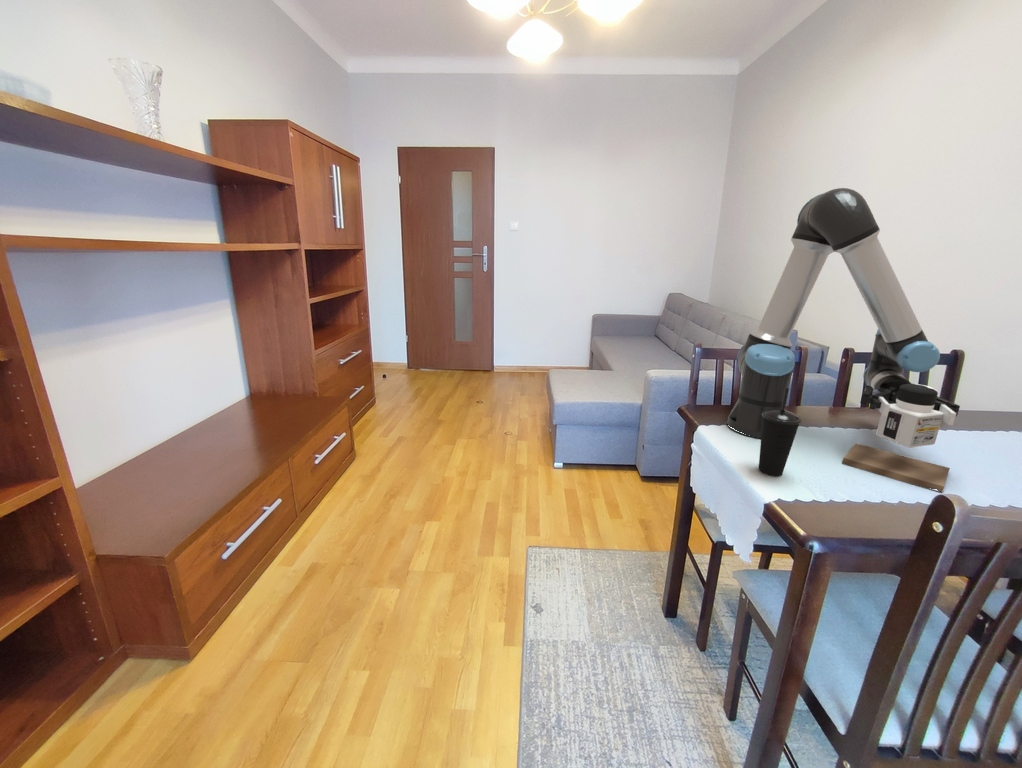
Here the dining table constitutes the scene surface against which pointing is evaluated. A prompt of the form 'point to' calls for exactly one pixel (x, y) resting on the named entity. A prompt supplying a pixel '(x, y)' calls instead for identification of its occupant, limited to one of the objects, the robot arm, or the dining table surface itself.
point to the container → (912, 417)
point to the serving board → (897, 467)
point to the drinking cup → (777, 438)
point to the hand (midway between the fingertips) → (918, 414)
